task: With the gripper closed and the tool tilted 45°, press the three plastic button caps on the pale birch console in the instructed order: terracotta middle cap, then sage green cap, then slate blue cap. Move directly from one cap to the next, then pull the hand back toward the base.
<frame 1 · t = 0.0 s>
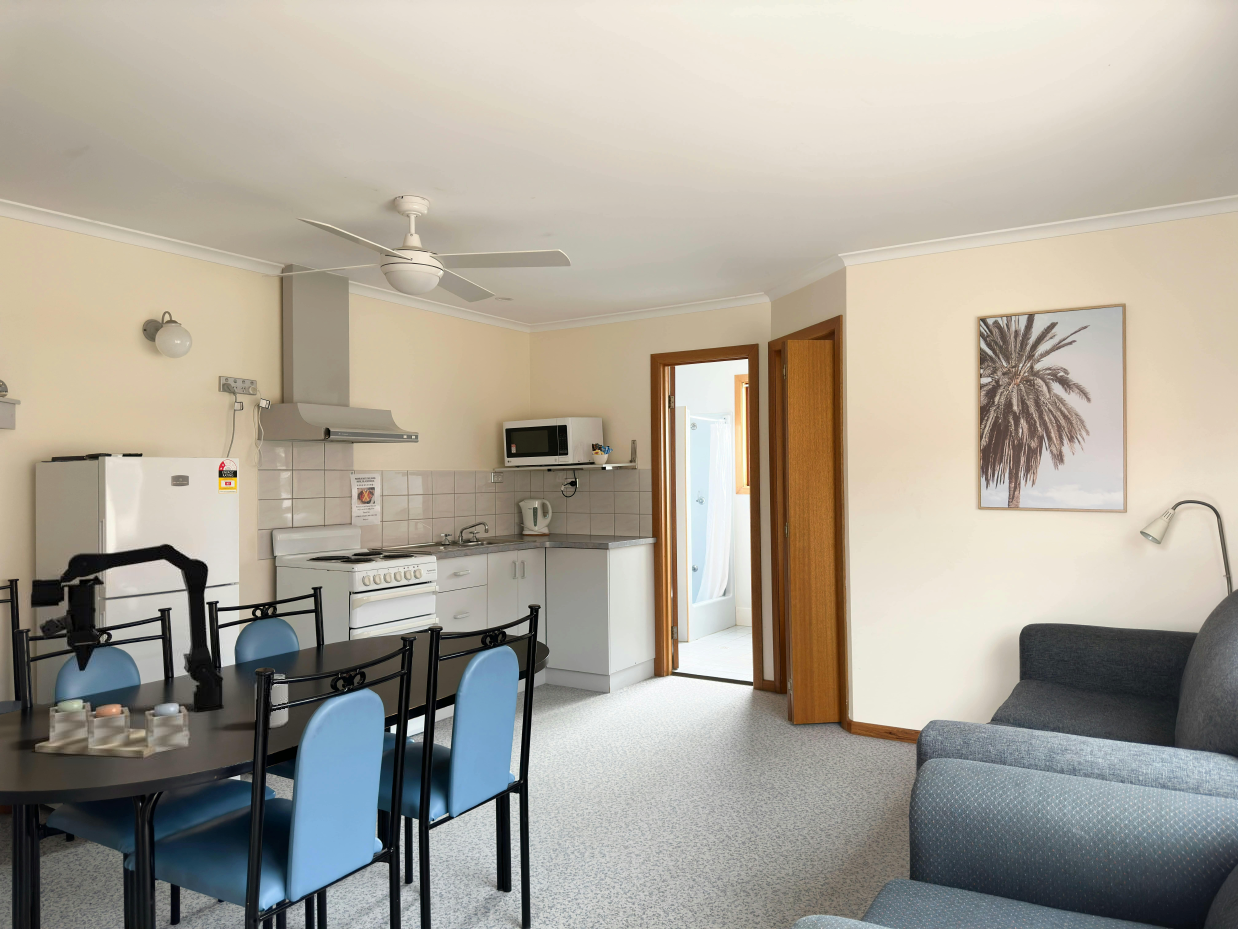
hand: (81, 667, 202), 15 cm above the table, tool pointing down, fingers open, 9 cm apart
button sage: (70, 708, 190), point 7 cm above the table, slide at 0.0 cm
button terracotta: (108, 713, 185), point 8 cm above the table, slide at 0.0 cm
can: (271, 726, 200), on the table
button console: (114, 744, 187), on the table
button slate: (166, 712, 185), point 8 cm above the table, slide at 0.0 cm
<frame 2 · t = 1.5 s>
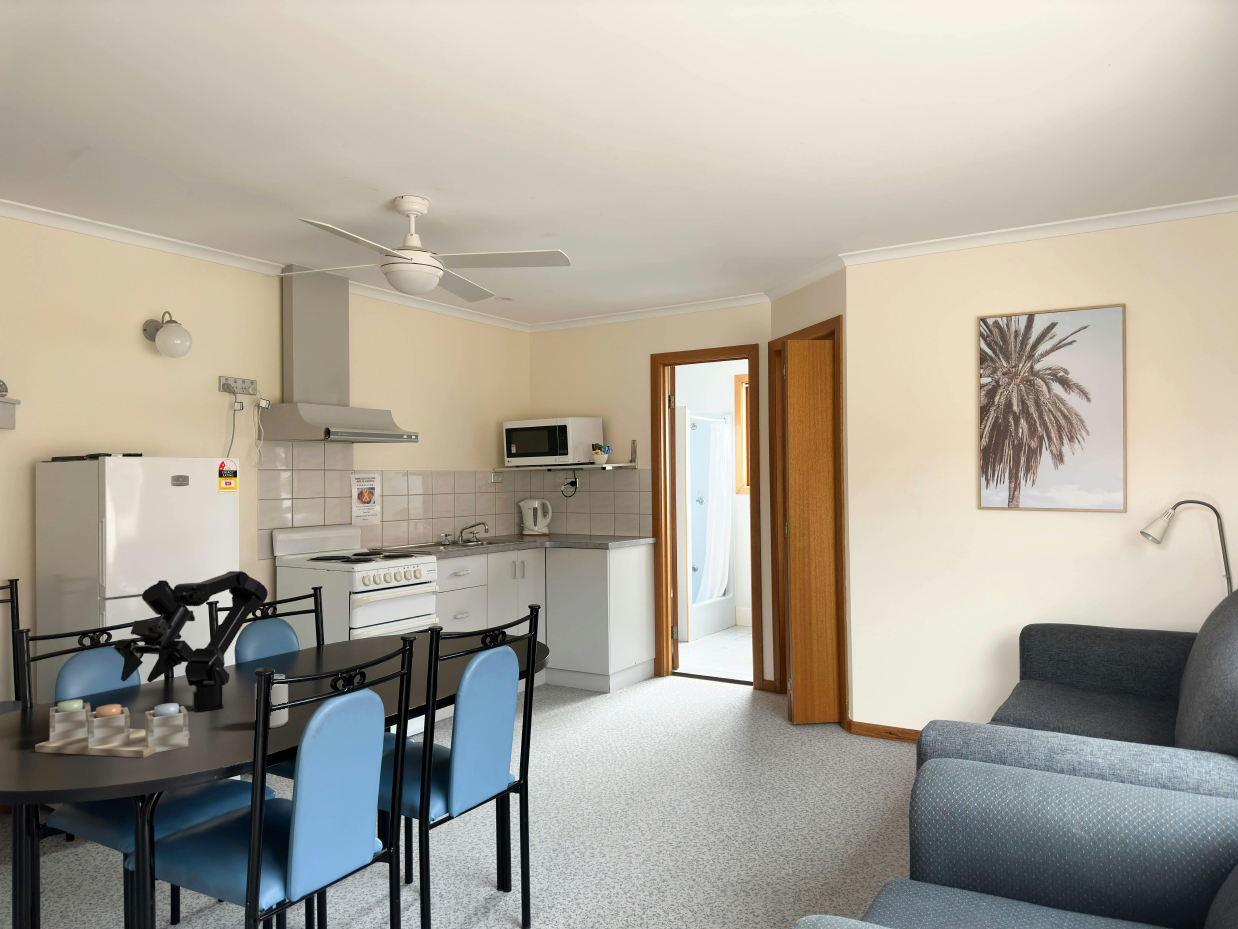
hand: (135, 681, 193), 13 cm above the table, tool tilted 45°, fingers open, 7 cm apart
nothing on the table moved.
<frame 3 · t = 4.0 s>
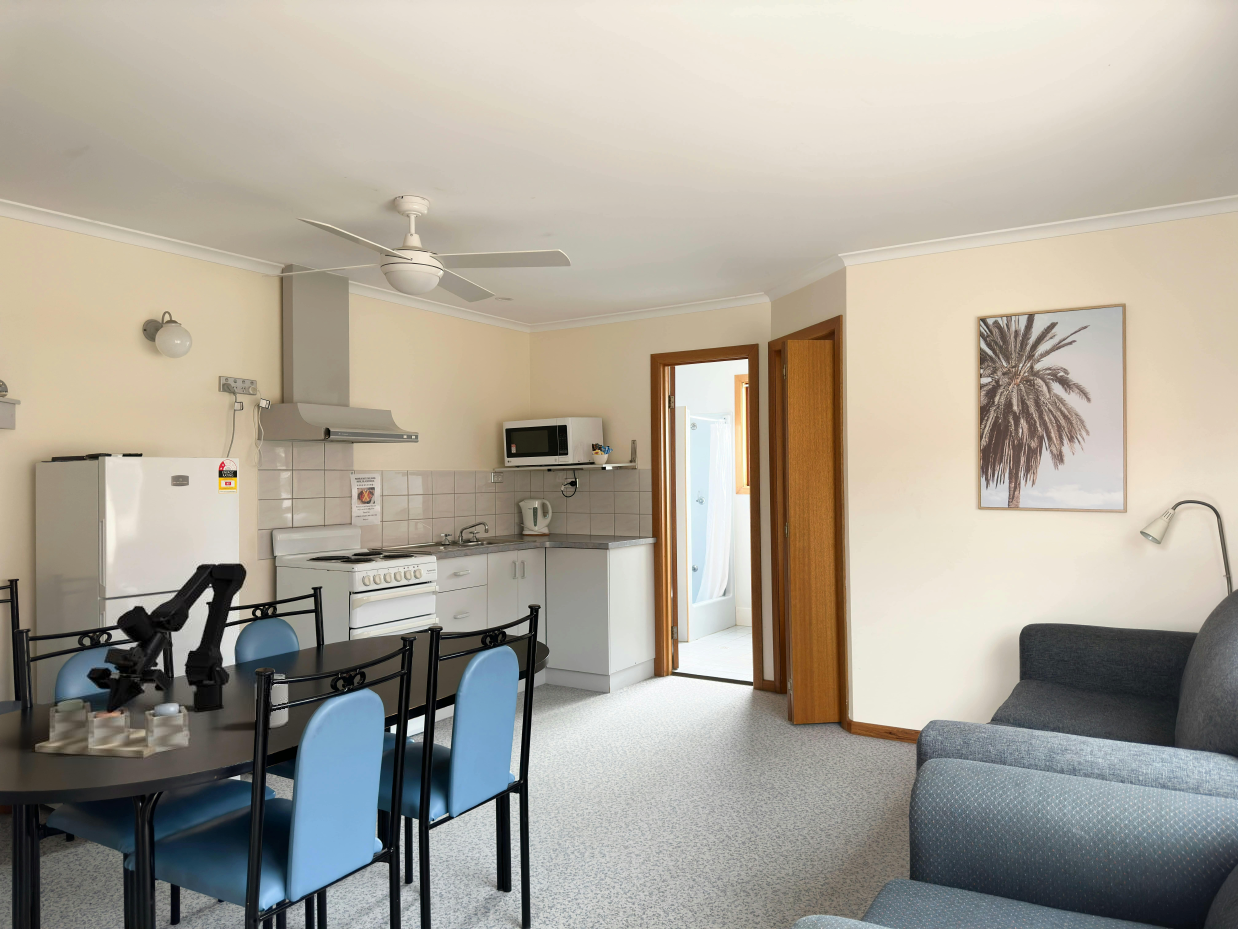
hand: (108, 712, 185), 8 cm above the table, tool tilted 45°, fingers closed, pressing on button terracotta
button terracotta: (108, 720, 185), point 6 cm above the table, slide at 1.4 cm, touching gripper
everything else where it was.
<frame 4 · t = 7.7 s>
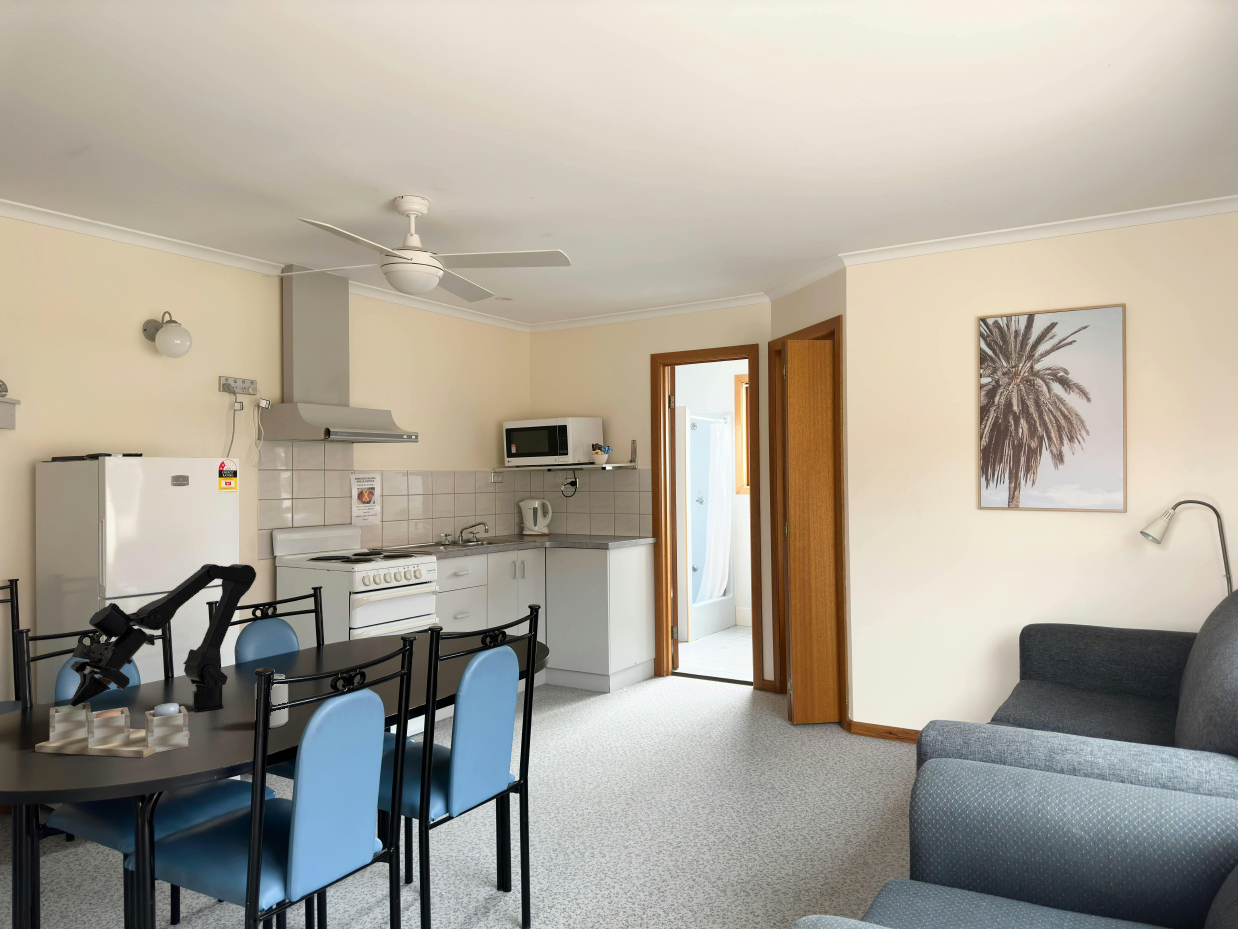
hand: (71, 705, 191), 8 cm above the table, tool tilted 45°, fingers closed, pressing on button sage
button sage: (70, 713, 190), point 6 cm above the table, slide at 1.1 cm, touching gripper
button terracotta: (108, 720, 185), point 6 cm above the table, slide at 1.5 cm
everything else where it was.
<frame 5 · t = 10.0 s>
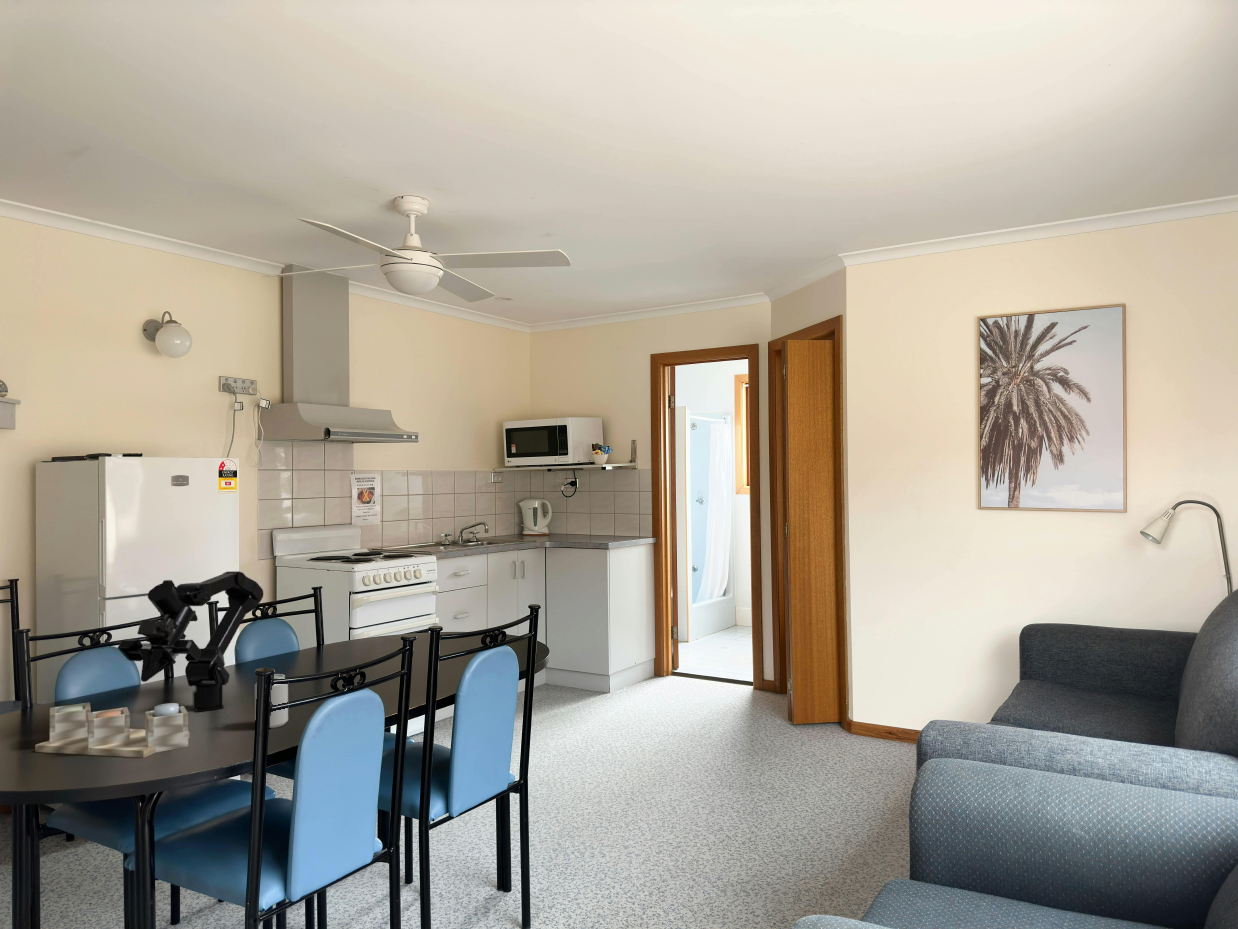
hand: (143, 680, 193), 13 cm above the table, tool tilted 45°, fingers closed
button sage: (70, 715, 190), point 6 cm above the table, slide at 1.5 cm
everything else where it was.
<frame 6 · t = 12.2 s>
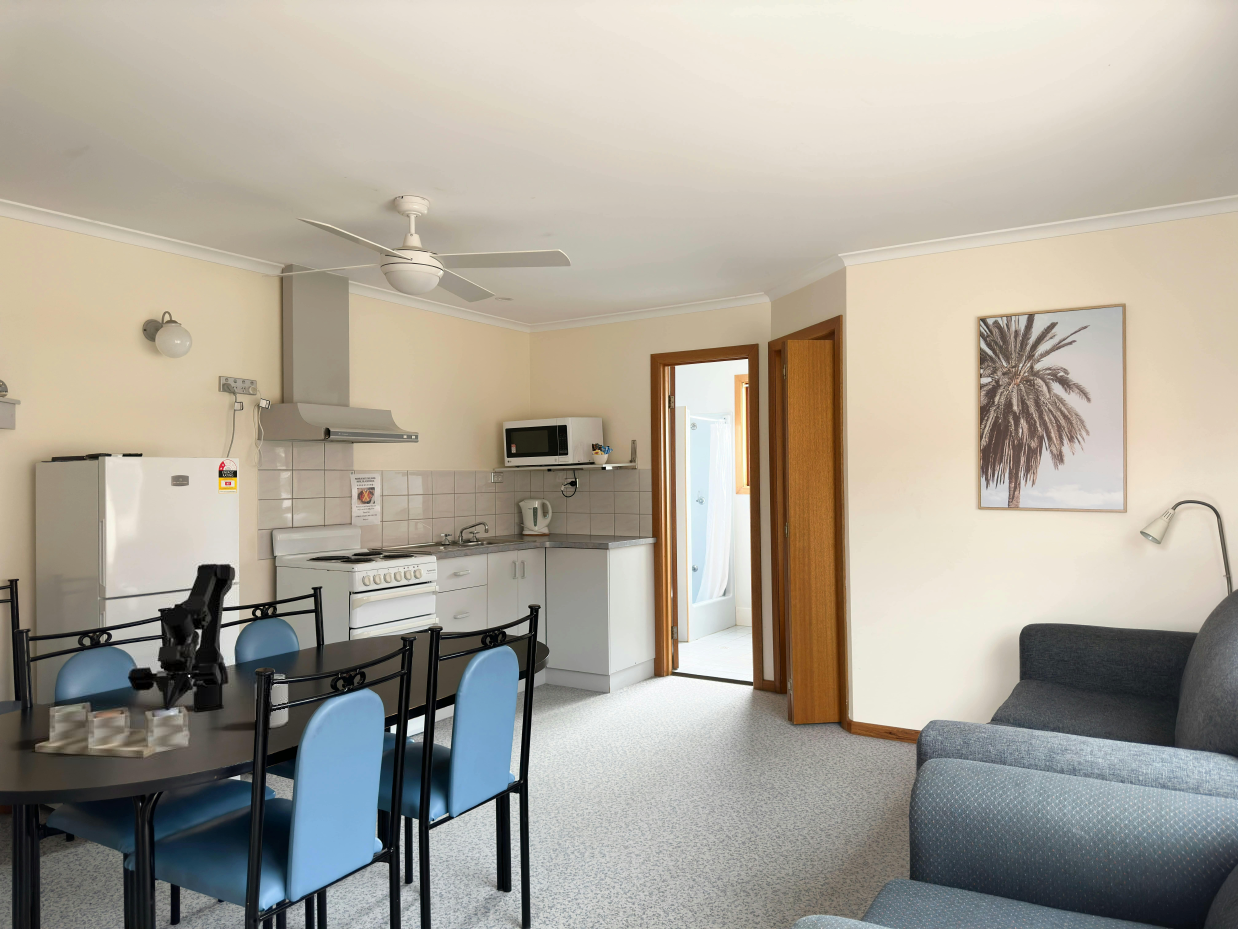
hand: (167, 709, 186), 8 cm above the table, tool tilted 45°, fingers closed, pressing on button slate
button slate: (166, 717, 185), point 6 cm above the table, slide at 1.1 cm, touching gripper
everything else where it was.
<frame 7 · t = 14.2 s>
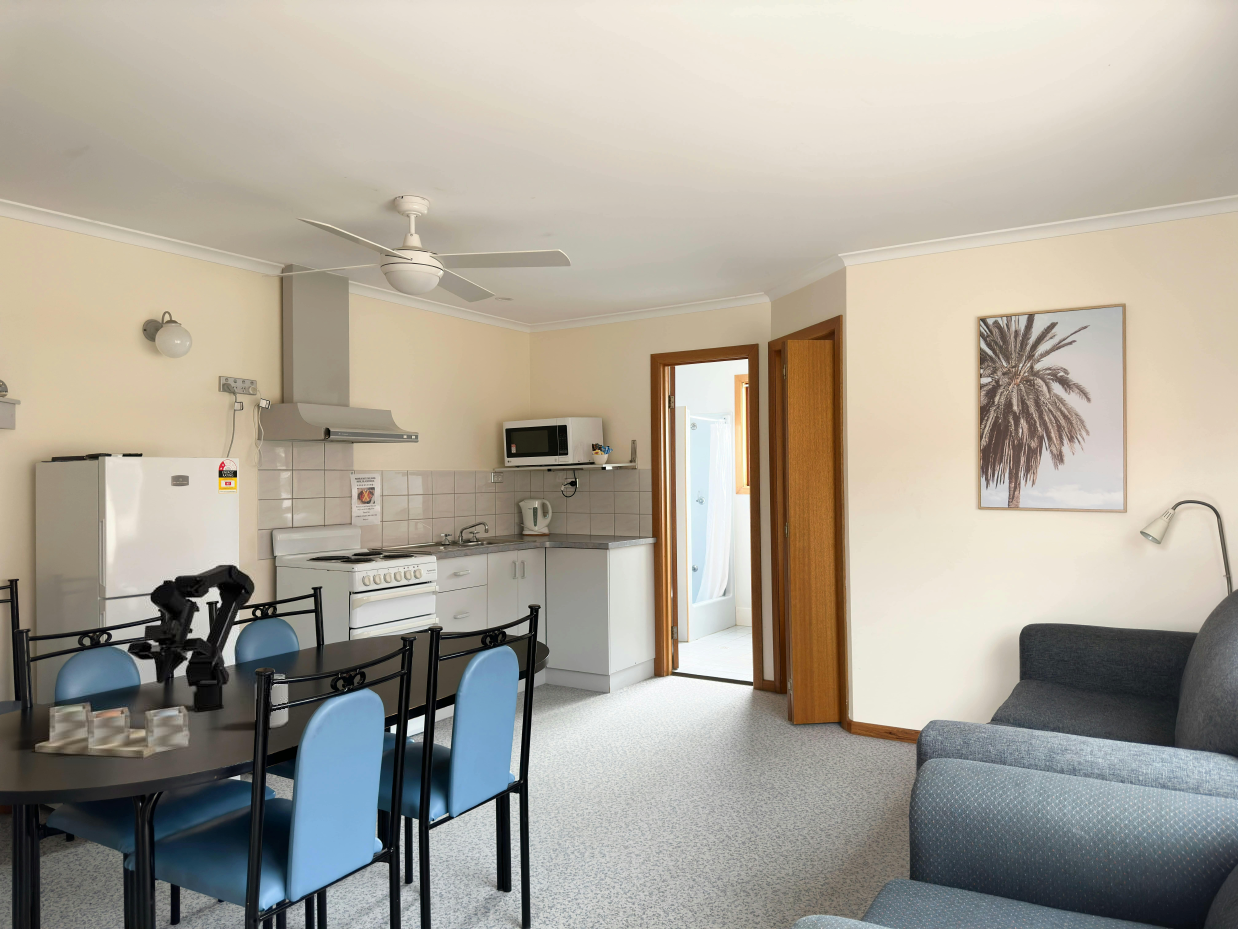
hand: (159, 683, 195), 12 cm above the table, tool tilted 30°, fingers closed
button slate: (166, 719, 185), point 6 cm above the table, slide at 1.5 cm
everything else where it was.
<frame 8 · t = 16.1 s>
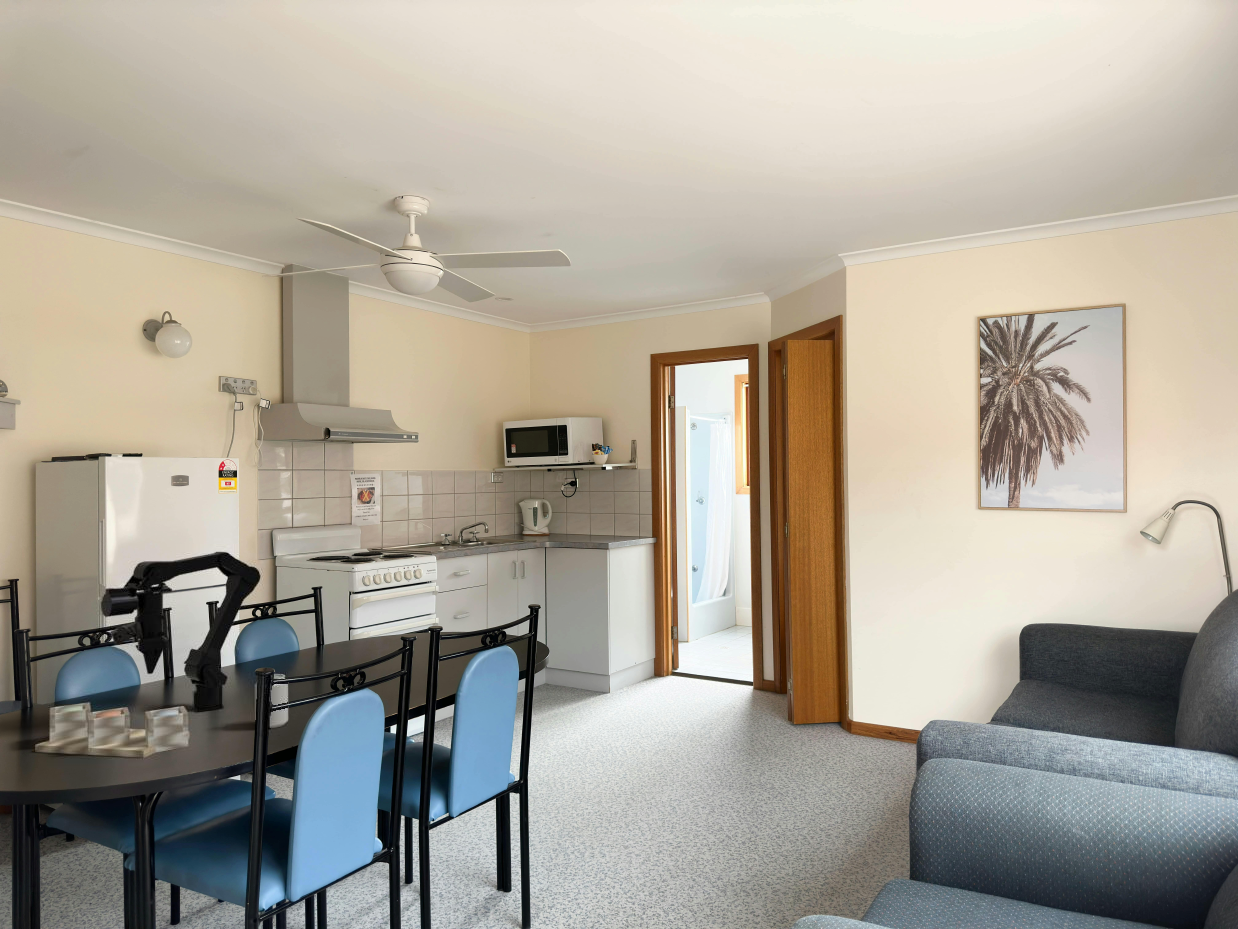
hand: (150, 673, 206), 12 cm above the table, tool pointing down, fingers closed
nothing on the table moved.
at the end: button terracotta slide at 1.5 cm; button sage slide at 1.5 cm; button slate slide at 1.5 cm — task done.
